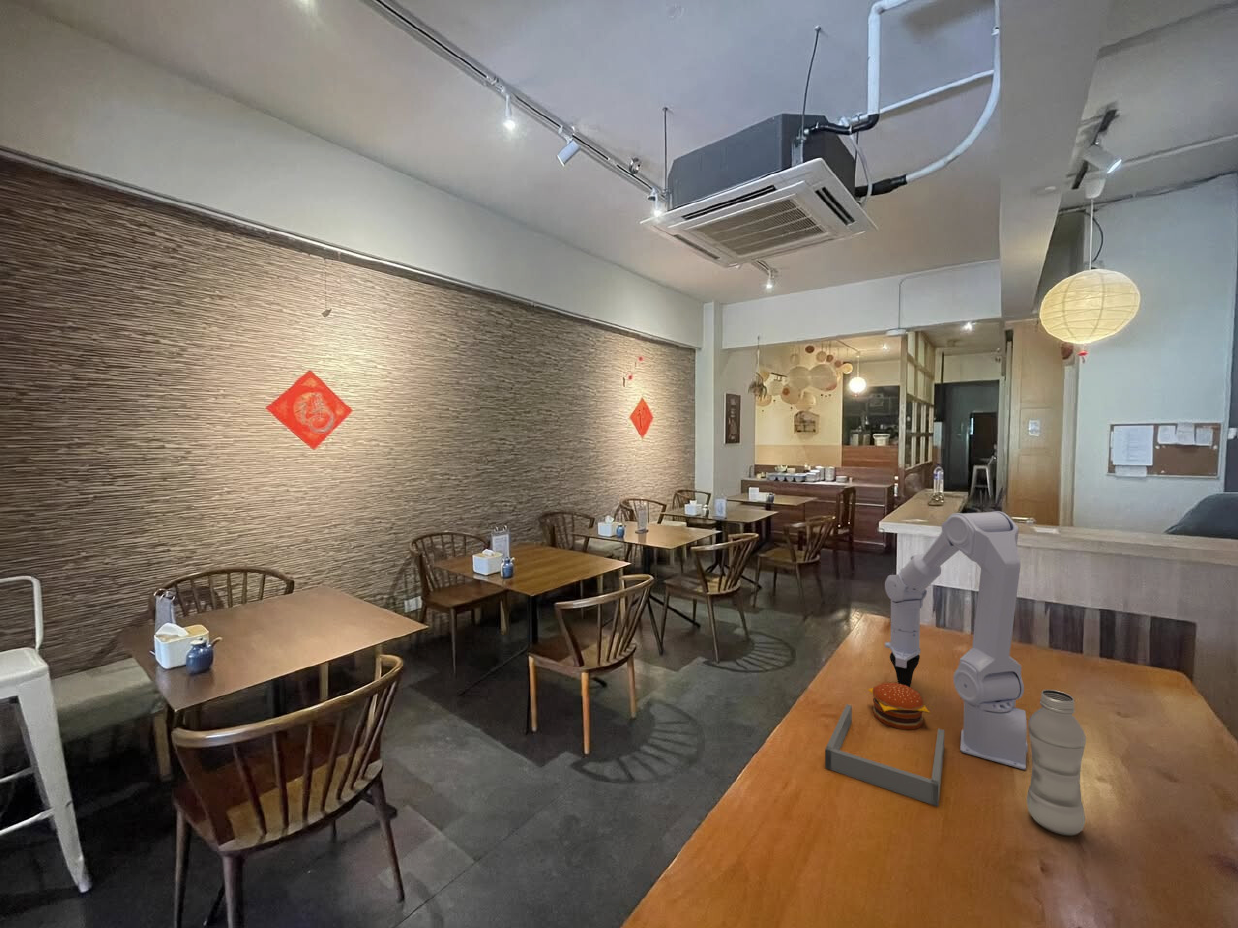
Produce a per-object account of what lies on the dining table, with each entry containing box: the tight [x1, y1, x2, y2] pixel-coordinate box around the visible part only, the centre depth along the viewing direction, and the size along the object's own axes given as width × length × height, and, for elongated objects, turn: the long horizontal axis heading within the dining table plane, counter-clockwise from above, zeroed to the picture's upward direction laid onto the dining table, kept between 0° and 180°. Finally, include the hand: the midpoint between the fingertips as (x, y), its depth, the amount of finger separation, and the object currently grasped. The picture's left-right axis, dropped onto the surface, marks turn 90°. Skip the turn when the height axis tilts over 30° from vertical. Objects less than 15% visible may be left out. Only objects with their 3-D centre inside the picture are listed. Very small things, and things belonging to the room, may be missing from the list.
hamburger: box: [867, 682, 931, 731], centre depth 105 cm, size 9×10×7 cm
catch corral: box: [824, 703, 945, 807], centre depth 92 cm, size 17×18×4 cm
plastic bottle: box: [1026, 689, 1087, 837], centre depth 75 cm, size 6×7×20 cm
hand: (904, 686), depth 115 cm, fingers closed
